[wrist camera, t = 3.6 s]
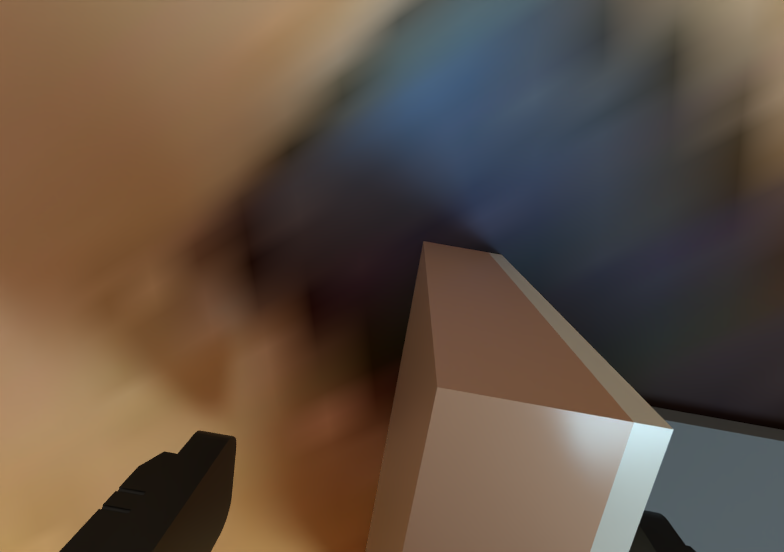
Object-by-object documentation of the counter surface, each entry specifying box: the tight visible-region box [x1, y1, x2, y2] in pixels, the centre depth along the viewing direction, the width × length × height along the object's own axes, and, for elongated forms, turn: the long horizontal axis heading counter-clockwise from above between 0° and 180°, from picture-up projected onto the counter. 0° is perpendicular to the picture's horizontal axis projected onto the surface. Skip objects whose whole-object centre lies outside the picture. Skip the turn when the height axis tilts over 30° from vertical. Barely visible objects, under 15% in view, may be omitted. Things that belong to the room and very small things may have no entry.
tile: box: [365, 241, 674, 552], centre depth 8 cm, size 10×2×7 cm, turn 170°
